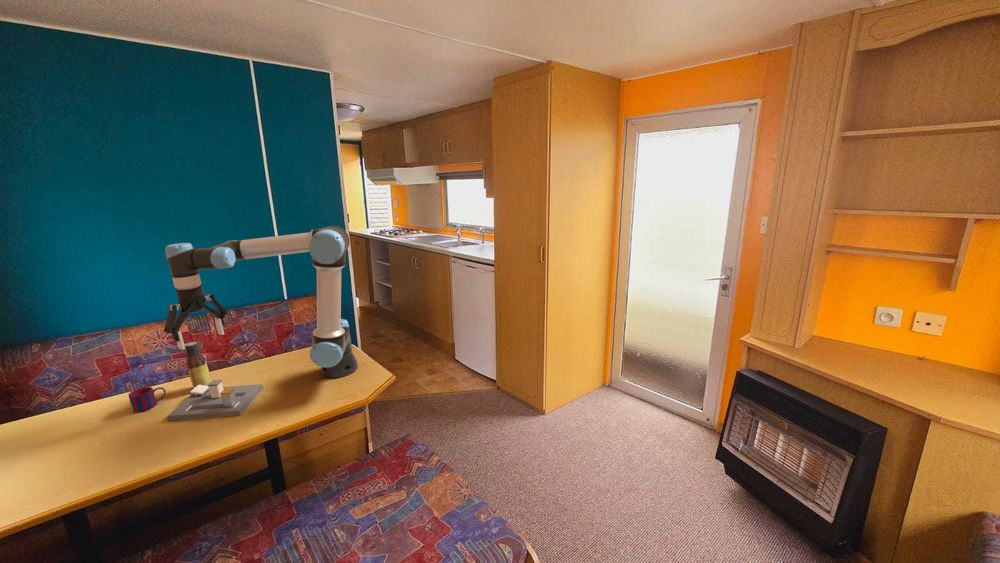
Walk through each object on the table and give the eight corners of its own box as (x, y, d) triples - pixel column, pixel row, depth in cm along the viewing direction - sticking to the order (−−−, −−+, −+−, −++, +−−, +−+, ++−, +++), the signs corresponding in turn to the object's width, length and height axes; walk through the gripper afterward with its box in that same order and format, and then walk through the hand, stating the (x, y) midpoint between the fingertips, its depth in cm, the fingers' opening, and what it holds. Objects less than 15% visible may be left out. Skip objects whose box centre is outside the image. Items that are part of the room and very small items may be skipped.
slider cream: (224, 393, 149) (221, 379, 148) (220, 397, 146) (216, 384, 145) (215, 393, 149) (212, 380, 148) (210, 398, 146) (207, 384, 144)
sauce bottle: (216, 384, 160) (206, 340, 155) (204, 392, 154) (192, 347, 149) (202, 383, 161) (191, 340, 155) (189, 391, 155) (177, 346, 149)
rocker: (209, 390, 153) (209, 386, 152) (201, 397, 148) (201, 393, 148) (198, 388, 152) (198, 384, 152) (190, 395, 147) (190, 391, 147)
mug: (135, 406, 146) (130, 390, 144) (169, 397, 151) (164, 382, 149) (131, 415, 140) (126, 398, 138) (167, 405, 146) (162, 389, 144)
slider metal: (237, 401, 144) (234, 387, 142) (232, 406, 141) (229, 392, 139) (228, 402, 143) (224, 388, 142) (223, 407, 140) (219, 393, 139)
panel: (263, 388, 157) (262, 384, 156) (240, 415, 139) (239, 410, 139) (199, 393, 154) (198, 388, 153) (167, 420, 137) (166, 415, 136)
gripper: (218, 277, 150) (229, 327, 156) (140, 295, 128) (157, 353, 134) (230, 278, 147) (242, 329, 153) (153, 298, 125) (170, 357, 131)
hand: (202, 341), depth 143 cm, fingers open, 13 cm apart
